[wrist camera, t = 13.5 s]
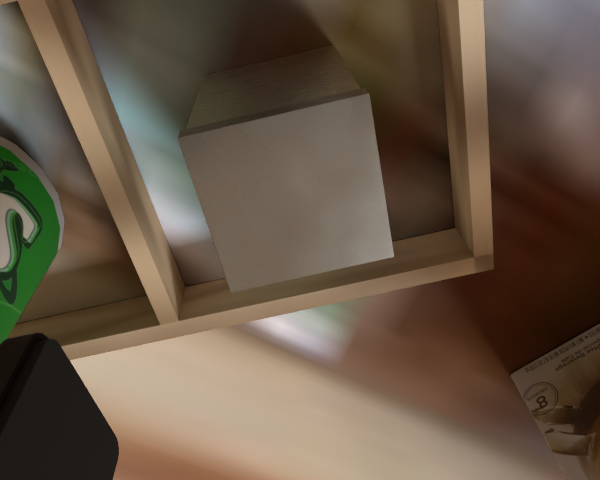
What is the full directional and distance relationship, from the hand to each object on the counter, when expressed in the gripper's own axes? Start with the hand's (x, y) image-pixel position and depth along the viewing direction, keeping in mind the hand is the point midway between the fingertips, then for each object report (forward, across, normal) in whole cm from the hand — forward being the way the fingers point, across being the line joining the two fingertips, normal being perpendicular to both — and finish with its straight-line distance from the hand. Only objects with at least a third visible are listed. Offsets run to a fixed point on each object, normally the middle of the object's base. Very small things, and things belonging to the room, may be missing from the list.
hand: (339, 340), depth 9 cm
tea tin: (+14, +1, +1) cm, 14 cm away
